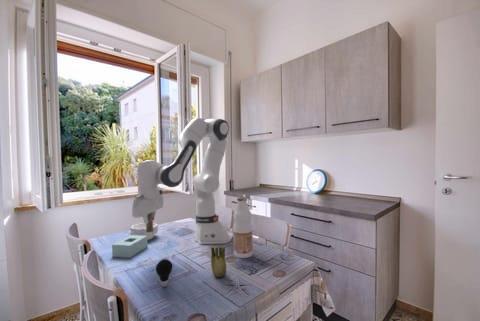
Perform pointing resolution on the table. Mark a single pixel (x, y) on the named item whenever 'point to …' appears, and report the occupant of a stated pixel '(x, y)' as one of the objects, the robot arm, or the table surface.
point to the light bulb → (164, 271)
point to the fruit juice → (242, 230)
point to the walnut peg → (149, 225)
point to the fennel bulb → (218, 261)
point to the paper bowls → (143, 230)
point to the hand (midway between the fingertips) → (149, 221)
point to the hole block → (129, 246)
